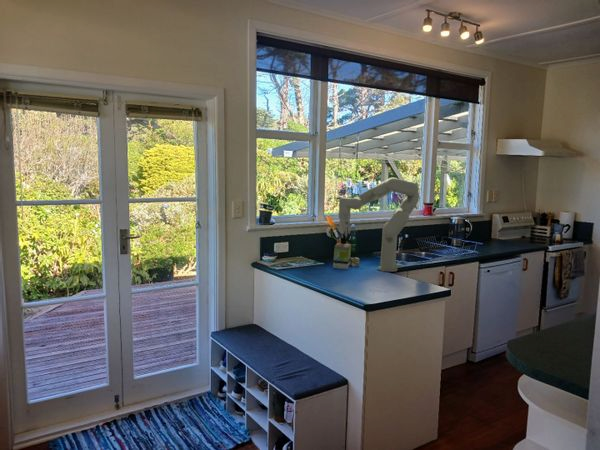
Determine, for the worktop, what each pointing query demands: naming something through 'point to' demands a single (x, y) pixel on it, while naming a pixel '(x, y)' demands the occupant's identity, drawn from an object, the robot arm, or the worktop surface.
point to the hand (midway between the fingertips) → (343, 243)
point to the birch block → (354, 261)
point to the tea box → (342, 256)
